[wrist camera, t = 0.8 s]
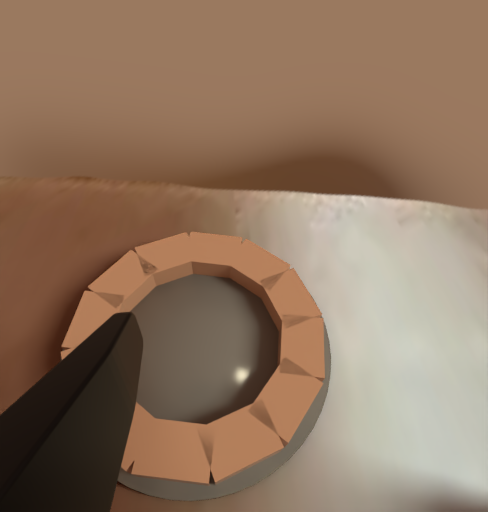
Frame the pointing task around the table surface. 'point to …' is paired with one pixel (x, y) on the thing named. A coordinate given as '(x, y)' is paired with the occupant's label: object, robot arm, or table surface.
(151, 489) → the ring tray
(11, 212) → the table surface
